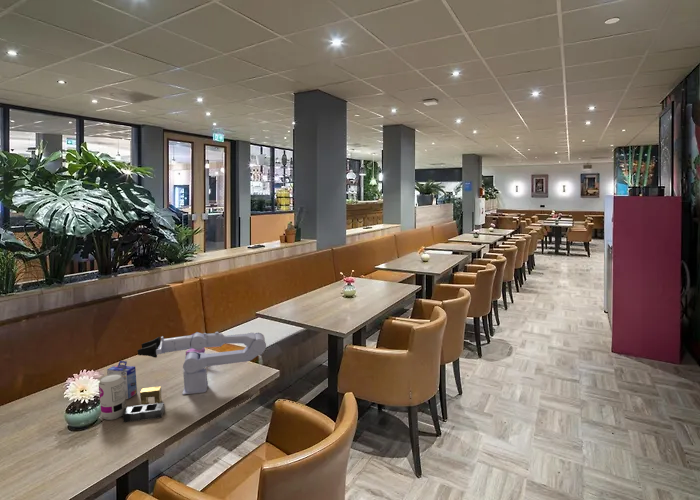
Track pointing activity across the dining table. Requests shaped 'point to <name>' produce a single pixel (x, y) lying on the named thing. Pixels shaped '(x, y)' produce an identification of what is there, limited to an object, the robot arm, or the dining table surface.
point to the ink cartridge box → (126, 377)
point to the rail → (143, 412)
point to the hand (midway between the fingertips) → (139, 349)
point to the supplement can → (112, 396)
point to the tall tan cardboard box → (150, 394)
